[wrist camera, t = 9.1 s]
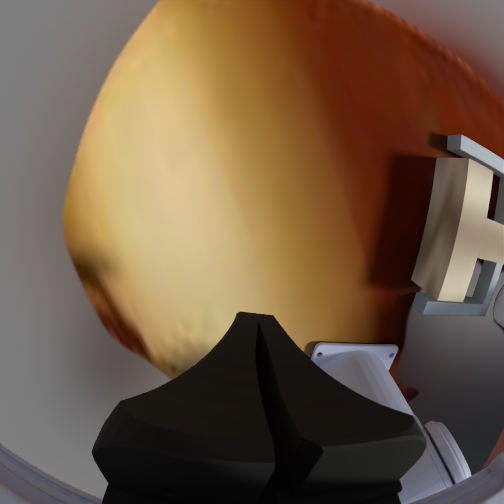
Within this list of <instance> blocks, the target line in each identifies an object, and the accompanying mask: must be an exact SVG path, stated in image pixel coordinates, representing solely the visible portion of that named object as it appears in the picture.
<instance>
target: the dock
mask: <svg viewBox="0 0 504 504" xmlns="http://www.w3.org/2000/svg"><path fill="white" fill-rule="evenodd" d="M447 150H448V151H451V152H453V153H455V154H457V155H459V156H461V157H463V158H470V159H471V160H473V161H475V162H477V163H479V164H481V165H483V166H485V167H486V168H488V169H490V170H492V171H493V174H495V175H497V176H498V177H500V182H499V191H498V198H497V204H496V210H495V216H494V221H495V222H497V223H500V224H502V225H504V160H503V159H501V158H500V157H498V156H497V155H495V154H494V153H492V152H491V151H489V150H487V149H486V148H484V147H482V146H481V145H479V144H477V143H476V142H474V141H472V140H470V139H468V138H467V137H465V136H463V135H452V136H448V141H447ZM502 265H503V264H501V263H497V262H492V261H488V260H484V263H483V266H482V270H481V273H480V276H479V279H478V282H477V285H476V288H475V291H474V294H473V297H466V296H465V298H464V301H463V302H453V301H438V300H436V299H435V298H434V297H432V296H431V295H430V294H429V293H420V292H416V295H415V298H414V301H413V304H412V305H413V306H414V307H415V308H416V309H417V310H418V311H419V312H420V313H421V314H422V315H444V316H445V315H446V316H447V315H448V316H485V314H486V312H487V309H488V307H489V304H490V301H491V299H492V296H493V293H494V290H495V287H496V284H497V281H498V278H499V275H500V272H501V269H502Z"/></svg>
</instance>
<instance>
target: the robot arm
mask: <svg viewBox="0 0 504 504" xmlns="http://www.w3.org/2000/svg"><path fill="white" fill-rule="evenodd" d="M397 351H398V347H397V345H395V344H345V343H324V342H321V343H318V344H316V345H315V347H314V350H313V353H312V357H311V359H310V358H309V357H308V356H307V355H306V354H305V353H304V352H303V351H302V350H301V349H300V348H299V347H298V346H297V345H296V344H295V343H294V341H293V340H292V339H291V338H290V337H289V336H288V334H287V333H286V332H285V330H284V329H283V328H282V327H281V325H280V324H279V323H278V321H277V320H276V319H275V317H274V316H273V315H265V314H256V313H248V312H238V313H237V314H236V317H235V320H234V322H233V323H232V325H231V327H230V328H229V330H228V331H227V332H226V334H225V335H224V336H223V338H222V339H221V340H220V341H219V342H218V344H217V345H216V346H215V347H214V348H213V349H212V350H211V351H210V352H209V353H208V354H207V355H206V356H205V357H204V358H203V359H201V360H200V361H199V362H198V363H197V364H195V365H194V366H193V367H191V368H190V369H189V370H187V371H186V372H184V373H183V374H181V375H180V376H178V377H177V378H175V379H173V380H171V381H169V382H167V383H166V384H164V385H162V386H160V387H158V388H156V389H154V390H151V391H149V392H146V393H143V394H140V395H137V396H135V397H132V398H129V399H125V400H122V401H120V402H119V404H118V405H117V406H116V407H115V409H114V410H113V411H112V413H111V414H110V416H109V417H108V419H107V420H106V422H105V423H104V425H103V427H102V429H101V431H100V433H99V435H98V437H97V440H96V442H95V444H94V446H93V449H92V455H93V457H94V460H95V462H96V464H97V466H98V467H99V469H100V471H101V472H102V474H103V475H104V477H105V479H106V480H107V482H108V483H109V484H108V486H107V489H106V492H105V495H104V498H103V499H101V498H98V497H96V496H93V495H91V494H88V493H86V492H84V491H81V490H79V489H77V488H75V487H73V486H71V485H68V484H66V483H64V482H62V481H60V480H58V479H56V478H55V477H53V476H51V475H49V474H47V473H45V472H44V471H42V470H40V469H38V468H37V467H35V466H33V465H32V464H30V463H28V462H27V461H25V460H24V459H22V458H21V457H19V456H18V455H16V454H15V453H13V452H12V451H10V450H9V449H7V448H6V447H4V446H3V445H2V444H0V504H504V451H503V452H502V453H500V454H499V455H498V456H497V457H496V458H495V459H494V460H493V461H492V462H491V463H490V465H489V466H488V467H486V468H485V469H483V470H481V471H480V472H478V473H476V474H474V475H473V476H471V472H470V470H469V467H468V465H467V463H466V461H465V458H464V456H463V454H462V452H461V451H460V449H459V447H458V445H457V443H456V442H455V440H454V439H453V437H452V435H451V434H450V432H449V431H448V430H447V428H446V427H445V425H444V424H443V423H440V422H434V421H430V422H428V423H427V424H426V425H425V427H426V429H427V431H428V433H429V435H430V439H431V441H432V442H431V441H430V439H429V437H428V435H427V434H426V432H425V430H424V428H423V427H422V425H421V423H420V421H419V420H418V418H417V416H414V414H413V412H412V410H411V409H410V407H409V405H408V403H407V402H406V400H405V398H404V397H403V395H402V393H401V392H400V390H399V388H398V387H397V385H396V383H395V382H394V380H393V378H392V377H391V375H390V373H389V372H388V371H389V369H390V366H391V364H392V362H393V360H394V358H395V356H396V354H397ZM319 352H321V354H317V353H319ZM391 353H392V354H391ZM390 354H391V355H390ZM432 443H433V444H432ZM433 445H434V446H433ZM434 447H435V448H434ZM448 474H449V475H448ZM449 476H450V477H449Z"/></svg>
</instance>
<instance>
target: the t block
mask: <svg viewBox="0 0 504 504" xmlns="http://www.w3.org/2000/svg"><path fill="white" fill-rule="evenodd" d="M492 180H493V171H492V170H490V169H488V168H486V167H485V166H483V165H481V164H479V163H477V162H475V161H473V160H471V159H470V158H436V167H435V174H434V181H433V188H432V194H431V200H430V205H429V210H428V215H427V220H426V225H425V229H424V234H423V238H422V242H421V246H420V250H419V254H418V257H417V261H416V265H415V268H414V272H413V275H412V278H411V280H412V281H413V282H415V283H416V284H417V285H419V286H420V287H421V288H422V289H424V290H425V291H426V292H427V293H429V294H430V295H431V296H432V297H434V298H435V299H436V300H438V301H453V302H463V301H464V298H465V295H466V292H467V289H468V286H469V283H470V280H471V277H472V274H473V271H474V268H475V264H476V261H477V258H480V259H484V260H488V261H492V262H497V263H501V264H504V225H502V224H500V223H497V222H495V221H493V220H490V219H488V218H487V213H488V208H489V202H490V195H491V188H492Z"/></svg>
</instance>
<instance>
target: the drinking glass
mask: <svg viewBox="0 0 504 504" xmlns="http://www.w3.org/2000/svg"><path fill="white" fill-rule="evenodd" d="M493 316H494V319H495V321H496V322H497V323H498V324H500V325H501V326H502V327H503V328H504V285H503V287H502V288H501V289H500V291H499V293H498V295H497V297H496V300H495V303H494V307H493Z"/></svg>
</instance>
